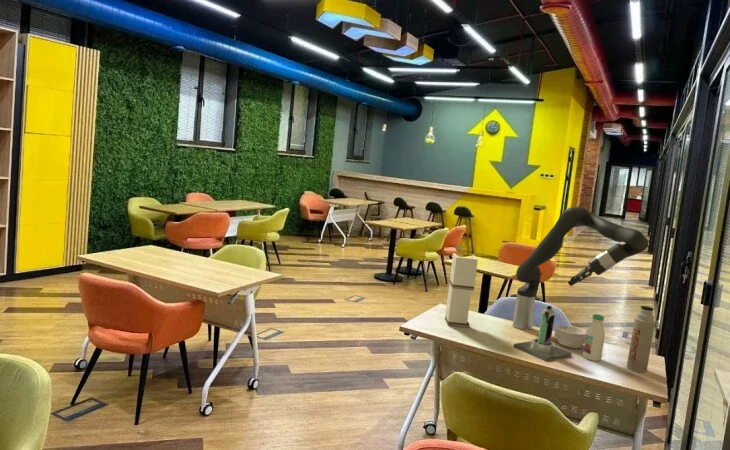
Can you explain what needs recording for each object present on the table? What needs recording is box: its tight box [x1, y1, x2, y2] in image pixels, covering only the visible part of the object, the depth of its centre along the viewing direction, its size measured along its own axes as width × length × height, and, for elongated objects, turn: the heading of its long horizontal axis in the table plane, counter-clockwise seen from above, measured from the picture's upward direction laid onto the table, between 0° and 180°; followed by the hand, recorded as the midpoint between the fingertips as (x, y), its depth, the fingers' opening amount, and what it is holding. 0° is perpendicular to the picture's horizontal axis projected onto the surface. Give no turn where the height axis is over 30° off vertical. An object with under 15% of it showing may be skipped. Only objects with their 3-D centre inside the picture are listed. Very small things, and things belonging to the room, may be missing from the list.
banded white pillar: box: [444, 252, 479, 329], centre depth 280 cm, size 11×11×35 cm
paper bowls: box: [554, 324, 587, 349], centre depth 265 cm, size 15×15×8 cm
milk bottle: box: [582, 313, 606, 362], centre depth 248 cm, size 8×8×20 cm
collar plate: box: [513, 337, 573, 362], centre depth 251 cm, size 18×18×4 cm
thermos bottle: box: [626, 305, 656, 374], centre depth 239 cm, size 8×8×28 cm
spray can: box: [537, 305, 556, 345], centre depth 250 cm, size 6×6×20 cm
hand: (570, 282), depth 245 cm, fingers open, 8 cm apart
